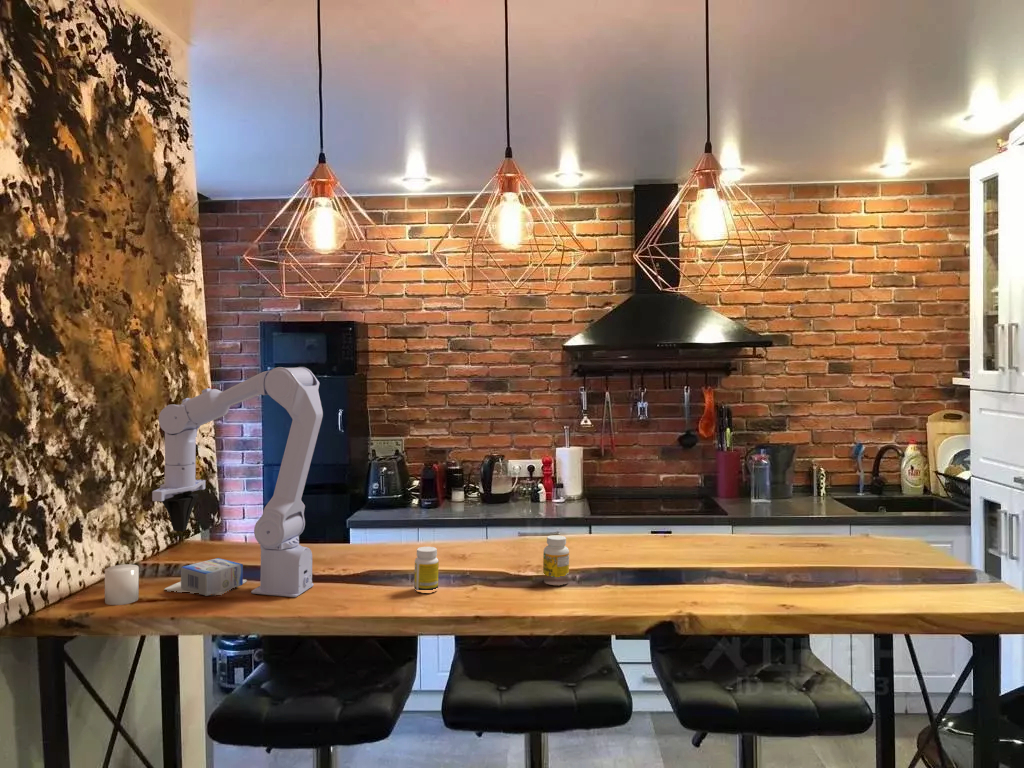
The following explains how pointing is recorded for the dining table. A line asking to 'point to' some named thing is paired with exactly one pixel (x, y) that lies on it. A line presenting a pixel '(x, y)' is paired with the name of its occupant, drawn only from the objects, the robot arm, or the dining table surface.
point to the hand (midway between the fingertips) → (179, 530)
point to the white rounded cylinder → (121, 584)
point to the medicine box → (211, 576)
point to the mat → (178, 588)
